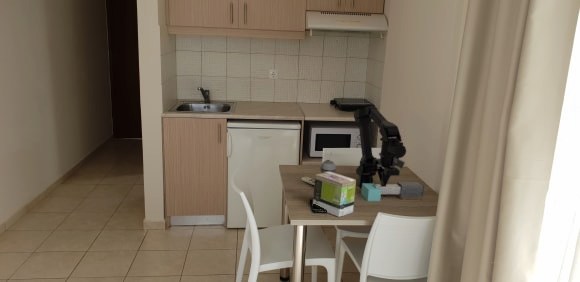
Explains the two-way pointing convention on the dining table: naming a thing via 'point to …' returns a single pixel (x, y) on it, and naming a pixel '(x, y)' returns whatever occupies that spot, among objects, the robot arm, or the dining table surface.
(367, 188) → the socket block
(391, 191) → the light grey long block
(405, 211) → the dining table surface
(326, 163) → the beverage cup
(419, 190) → the sleeve
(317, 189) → the tea box
